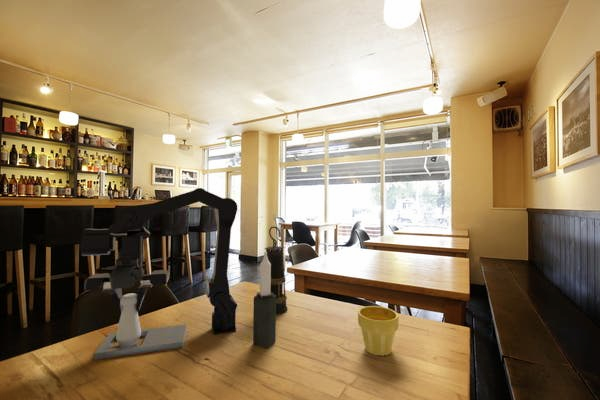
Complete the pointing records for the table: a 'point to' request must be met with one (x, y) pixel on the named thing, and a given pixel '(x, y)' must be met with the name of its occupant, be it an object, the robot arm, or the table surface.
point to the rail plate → (145, 342)
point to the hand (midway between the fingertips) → (129, 311)
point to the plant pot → (378, 328)
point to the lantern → (277, 274)
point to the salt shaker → (128, 321)
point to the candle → (264, 309)
